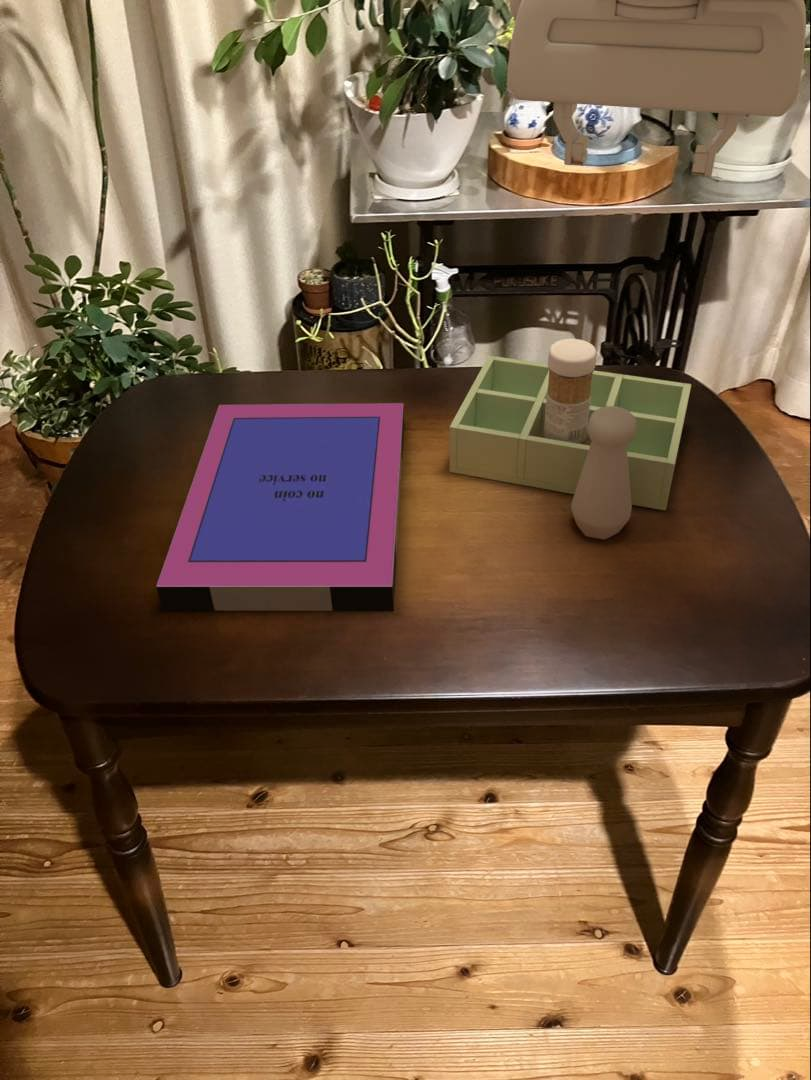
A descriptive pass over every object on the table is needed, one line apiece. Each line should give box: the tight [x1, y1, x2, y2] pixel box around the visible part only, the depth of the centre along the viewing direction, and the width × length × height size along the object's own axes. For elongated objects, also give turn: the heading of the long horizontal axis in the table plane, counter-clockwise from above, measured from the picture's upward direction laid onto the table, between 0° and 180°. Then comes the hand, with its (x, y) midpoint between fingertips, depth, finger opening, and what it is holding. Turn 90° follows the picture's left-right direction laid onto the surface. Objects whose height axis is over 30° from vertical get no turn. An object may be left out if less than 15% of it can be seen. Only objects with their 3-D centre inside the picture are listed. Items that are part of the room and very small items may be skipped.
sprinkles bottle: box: [544, 338, 597, 445], centre depth 92 cm, size 5×5×14 cm
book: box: [156, 402, 405, 612], centre depth 93 cm, size 21×3×30 cm
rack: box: [449, 355, 692, 511], centre depth 98 cm, size 23×15×6 cm
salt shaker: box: [570, 406, 636, 540], centre depth 86 cm, size 6×6×13 cm
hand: (637, 168), depth 69 cm, fingers open, 8 cm apart
